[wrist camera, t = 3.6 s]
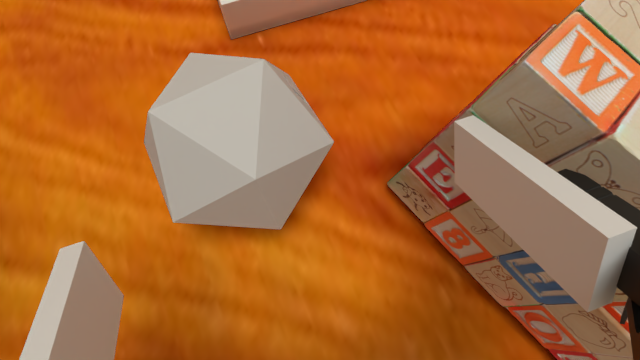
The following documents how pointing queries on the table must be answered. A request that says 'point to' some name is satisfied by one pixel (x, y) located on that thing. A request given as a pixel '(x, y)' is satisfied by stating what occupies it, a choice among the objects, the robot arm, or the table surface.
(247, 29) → the tray
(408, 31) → the table surface
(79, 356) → the robot arm
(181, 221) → the die
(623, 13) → the stack of blocks
